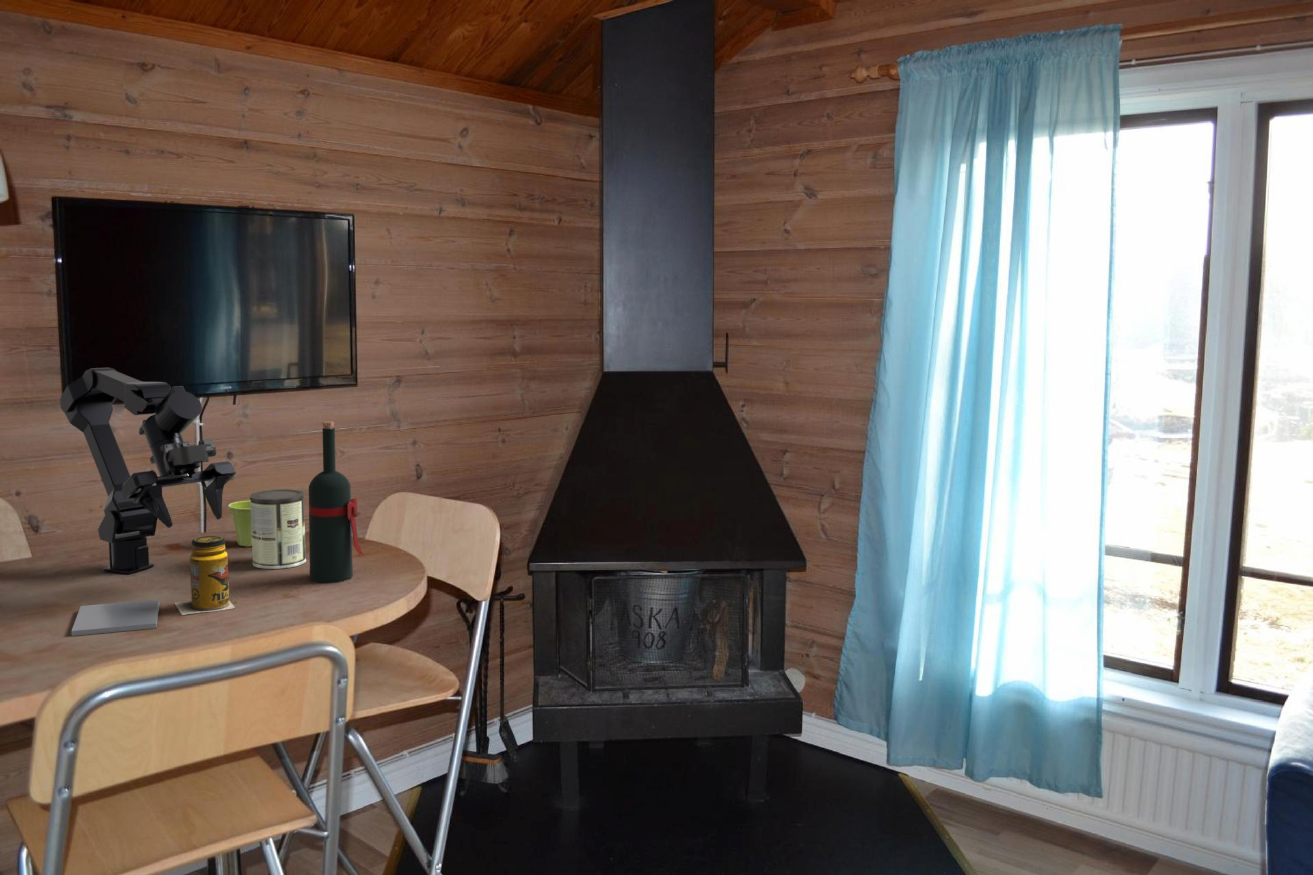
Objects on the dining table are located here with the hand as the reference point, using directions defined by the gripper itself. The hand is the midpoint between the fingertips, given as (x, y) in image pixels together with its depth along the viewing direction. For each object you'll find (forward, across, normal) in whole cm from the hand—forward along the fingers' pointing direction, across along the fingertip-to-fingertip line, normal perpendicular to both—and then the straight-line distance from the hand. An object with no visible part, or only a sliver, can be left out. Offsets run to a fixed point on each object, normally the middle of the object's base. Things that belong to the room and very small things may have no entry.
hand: (195, 522), depth 187 cm
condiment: (+16, -3, +1) cm, 16 cm away
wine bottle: (+16, +23, -1) cm, 28 cm away
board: (+13, -16, +4) cm, 21 cm away
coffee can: (+7, +22, +14) cm, 27 cm away
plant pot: (-3, +27, +29) cm, 40 cm away
